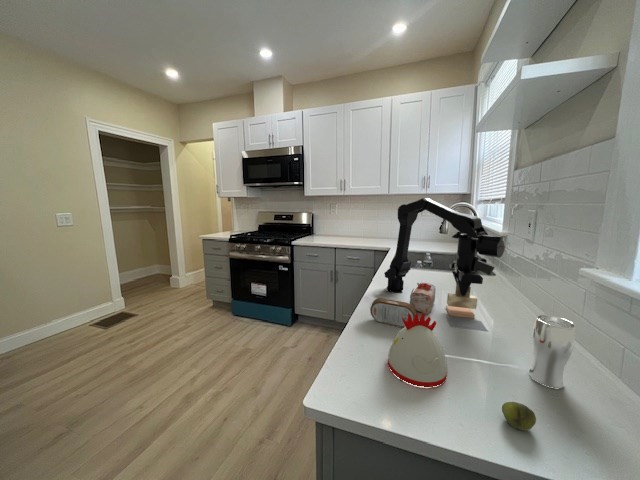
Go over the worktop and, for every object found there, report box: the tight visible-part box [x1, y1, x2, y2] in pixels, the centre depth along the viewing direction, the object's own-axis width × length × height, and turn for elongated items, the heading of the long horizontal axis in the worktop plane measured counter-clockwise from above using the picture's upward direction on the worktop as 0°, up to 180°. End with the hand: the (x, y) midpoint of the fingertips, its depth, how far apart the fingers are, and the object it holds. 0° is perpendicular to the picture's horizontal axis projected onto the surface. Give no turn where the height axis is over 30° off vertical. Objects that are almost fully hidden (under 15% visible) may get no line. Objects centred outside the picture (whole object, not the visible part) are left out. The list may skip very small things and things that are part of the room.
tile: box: [445, 304, 476, 319], centre depth 92 cm, size 8×2×6 cm
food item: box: [409, 282, 437, 315], centre depth 96 cm, size 14×8×10 cm, turn 148°
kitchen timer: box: [387, 311, 448, 387], centre depth 62 cm, size 14×14×15 cm
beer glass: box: [528, 314, 577, 389], centre depth 57 cm, size 7×7×15 cm
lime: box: [501, 401, 537, 431], centre depth 46 cm, size 4×5×5 cm
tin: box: [369, 297, 417, 328], centre depth 84 cm, size 15×3×8 cm, turn 65°
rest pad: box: [445, 316, 489, 332], centre depth 84 cm, size 11×7×1 cm, turn 74°
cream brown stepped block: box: [446, 284, 478, 310], centre depth 90 cm, size 9×2×8 cm, turn 74°
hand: (462, 294), depth 90 cm, fingers closed on cream brown stepped block, 2 cm apart
